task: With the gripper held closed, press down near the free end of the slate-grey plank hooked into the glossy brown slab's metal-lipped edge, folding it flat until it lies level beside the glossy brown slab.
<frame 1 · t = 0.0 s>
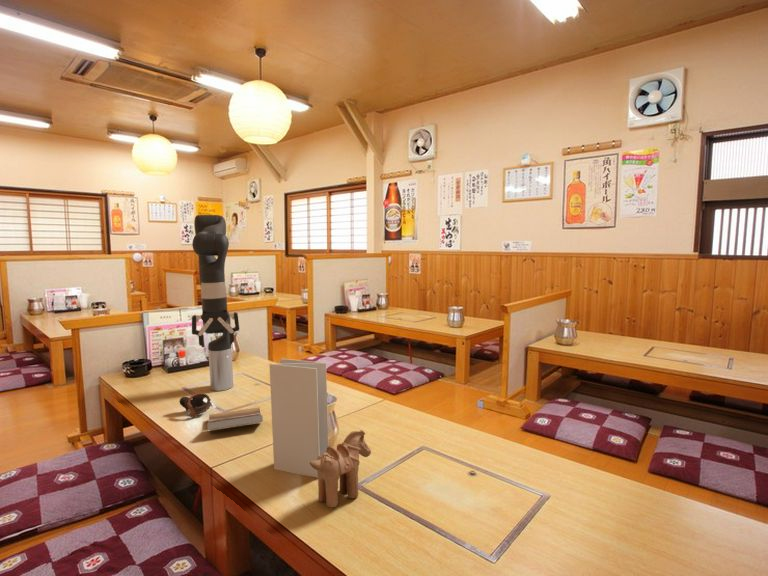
hand: (217, 345, 137), 29 cm above the table, tool pointing down, fingers open, 8 cm apart
brochure: (301, 469, 117), on the table
slate plank: (235, 422, 141), point 3 cm above the table, hinge at 25.0°
pottery mug: (196, 413, 156), on the table
glossy brown slab: (235, 420, 149), on the table
figurine: (343, 495, 105), on the table
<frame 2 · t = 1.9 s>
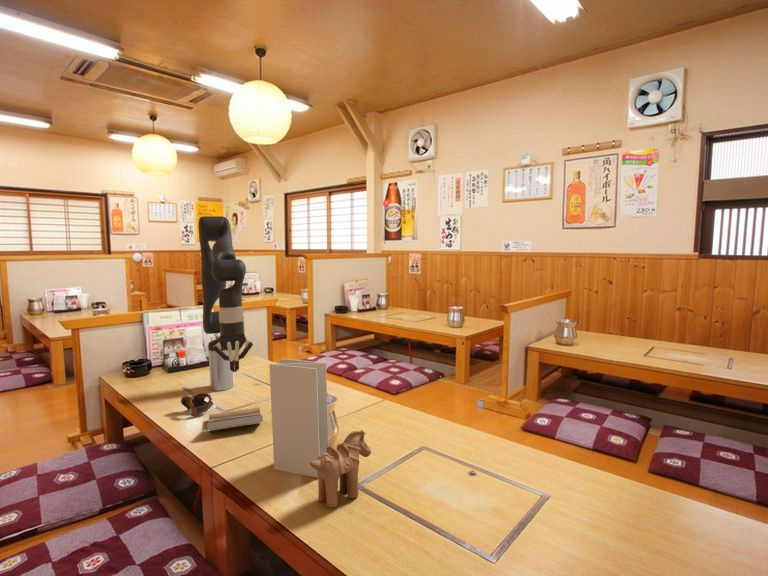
hand: (234, 371, 140), 20 cm above the table, tool pointing down, fingers closed
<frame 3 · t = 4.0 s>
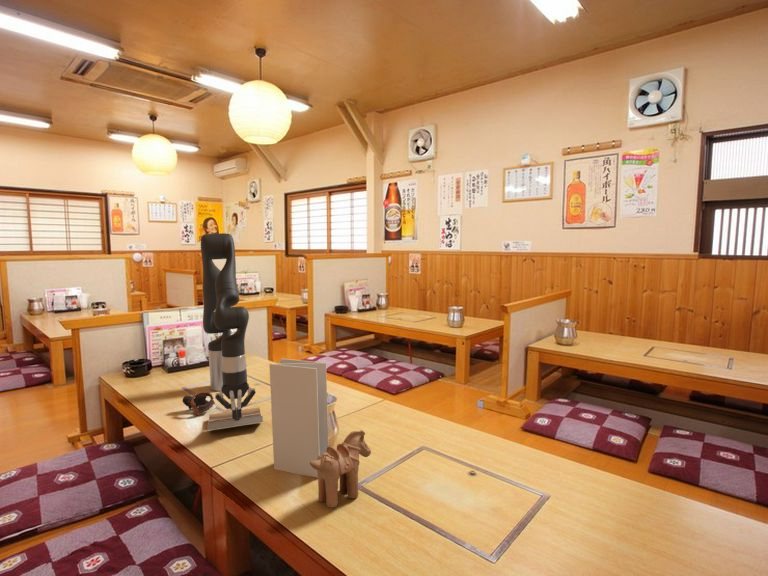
hand: (237, 419, 138), 5 cm above the table, tool pointing down, fingers closed
slate plank: (235, 422, 141), point 3 cm above the table, hinge at 23.3°, touching gripper
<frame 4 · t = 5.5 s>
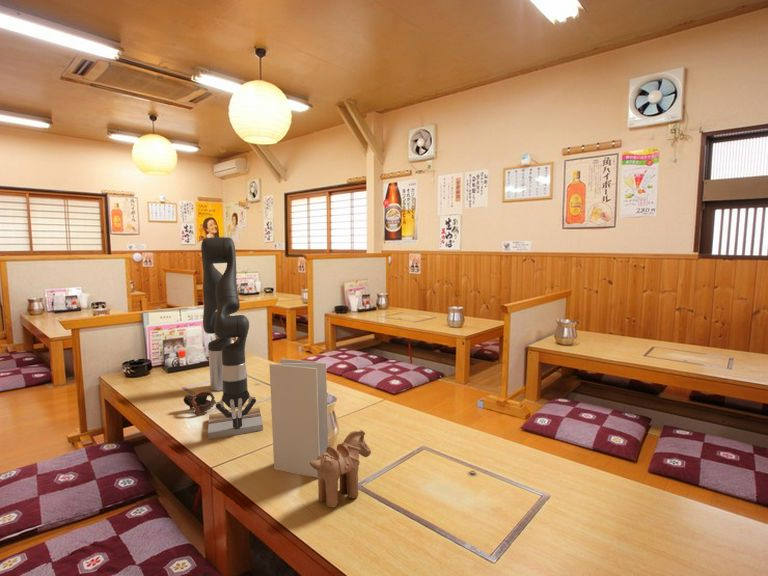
hand: (237, 428, 138), 2 cm above the table, tool pointing down, fingers closed
slate plank: (235, 427, 141), point 1 cm above the table, hinge at -1.0°, touching gripper
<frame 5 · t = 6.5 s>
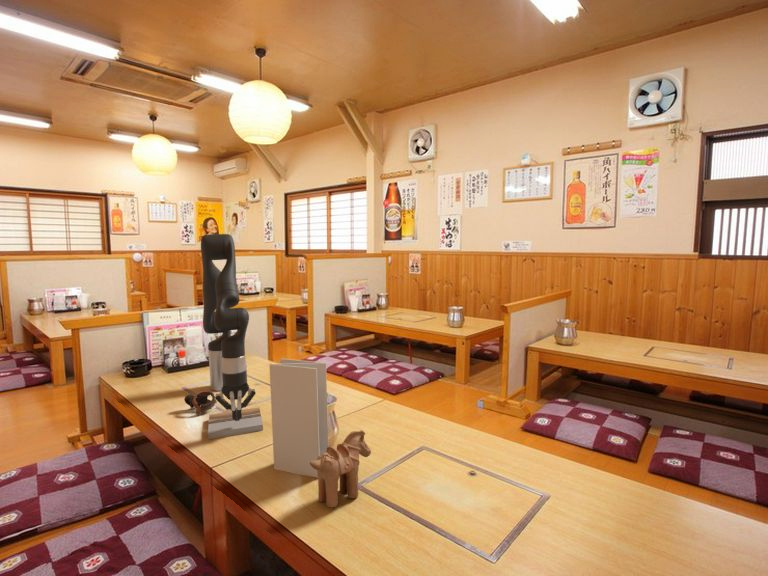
hand: (237, 419, 139), 4 cm above the table, tool pointing down, fingers closed
slate plank: (235, 427, 141), point 1 cm above the table, hinge at -1.1°
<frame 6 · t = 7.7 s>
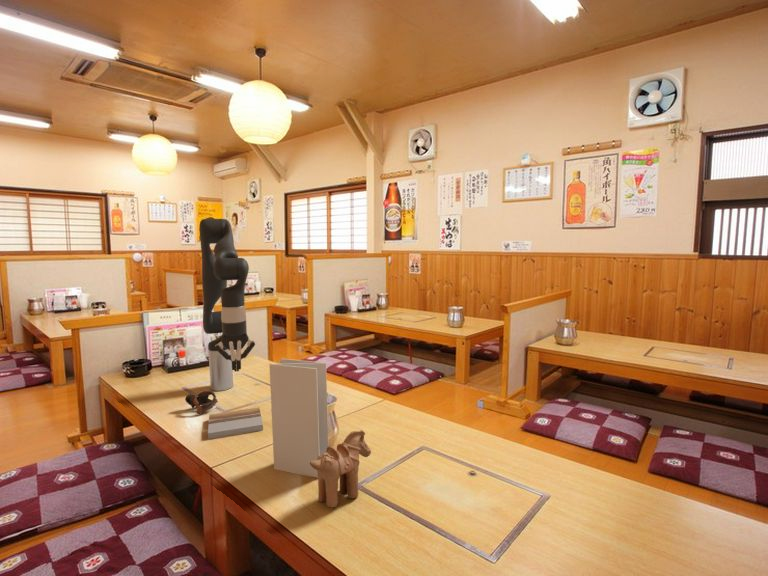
hand: (236, 370, 139), 20 cm above the table, tool pointing down, fingers closed
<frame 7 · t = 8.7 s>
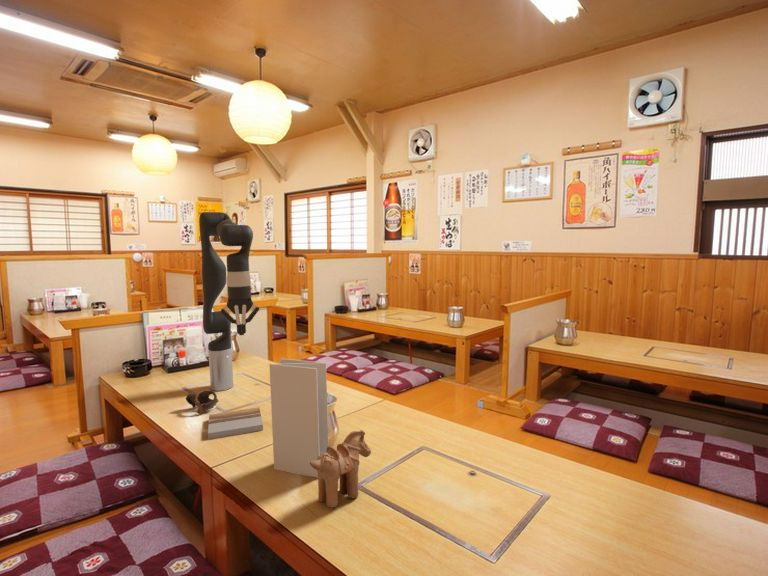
hand: (241, 334, 144), 31 cm above the table, tool pointing down, fingers closed
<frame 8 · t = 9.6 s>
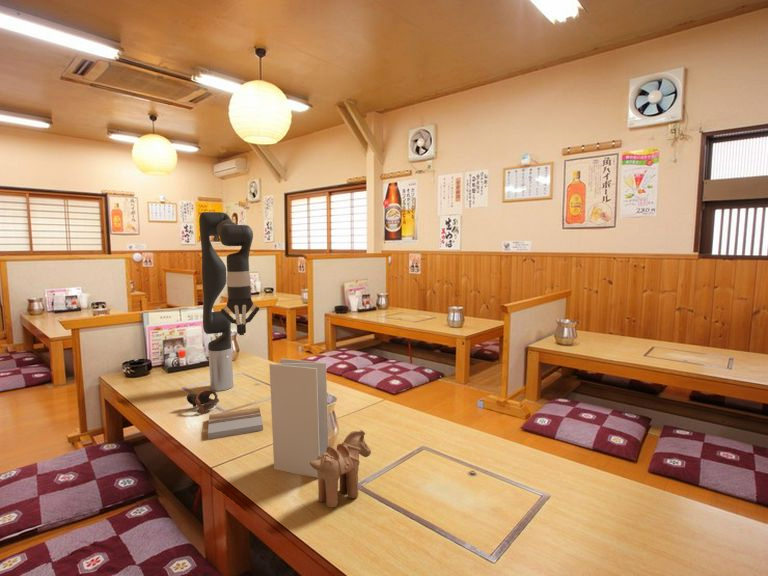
hand: (241, 334, 144), 31 cm above the table, tool pointing down, fingers closed
at the end: slate plank at -1° (first picture: +25°); pottery mug moved 3.8 cm from its start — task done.
